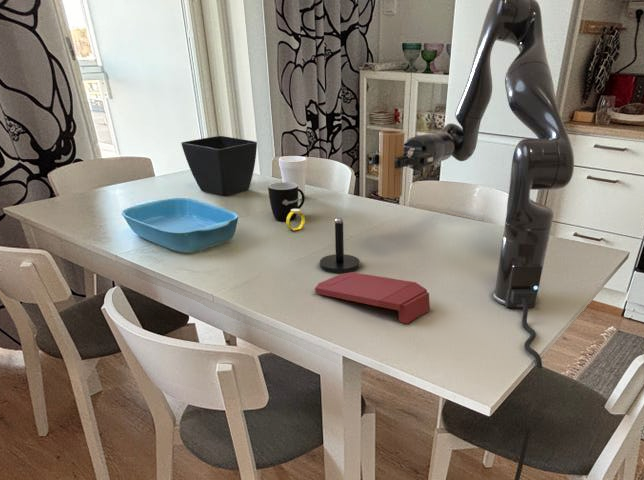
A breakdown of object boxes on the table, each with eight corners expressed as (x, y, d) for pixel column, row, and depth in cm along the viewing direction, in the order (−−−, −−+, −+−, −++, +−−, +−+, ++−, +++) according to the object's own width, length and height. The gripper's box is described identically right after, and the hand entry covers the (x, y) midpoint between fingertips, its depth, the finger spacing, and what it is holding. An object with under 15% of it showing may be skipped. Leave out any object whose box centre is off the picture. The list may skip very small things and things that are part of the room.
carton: (314, 307, 119) (401, 327, 103) (310, 286, 116) (399, 304, 101) (349, 290, 126) (435, 306, 111) (347, 271, 124) (434, 284, 109)
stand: (360, 273, 127) (360, 224, 120) (319, 273, 126) (317, 224, 120) (359, 258, 135) (359, 211, 129) (320, 258, 135) (318, 211, 128)
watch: (290, 233, 151) (289, 213, 148) (285, 231, 153) (283, 210, 150) (307, 228, 155) (306, 209, 152) (301, 226, 156) (300, 206, 153)
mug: (281, 224, 158) (278, 190, 152) (265, 217, 163) (262, 185, 158) (313, 217, 164) (311, 184, 159) (296, 211, 170) (295, 179, 165)
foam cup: (278, 195, 186) (275, 157, 179) (303, 192, 189) (301, 155, 182) (286, 202, 179) (283, 162, 172) (311, 199, 182) (310, 160, 175)
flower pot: (262, 188, 193) (258, 140, 184) (225, 200, 179) (219, 148, 170) (226, 181, 201) (219, 135, 192) (188, 192, 188) (179, 142, 179)
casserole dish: (113, 232, 150) (107, 207, 146) (181, 215, 164) (177, 192, 161) (185, 264, 130) (180, 237, 126) (256, 242, 144) (253, 216, 140)
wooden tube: (402, 198, 123) (405, 134, 115) (379, 198, 123) (380, 134, 115) (400, 191, 127) (403, 130, 120) (377, 191, 127) (379, 130, 120)
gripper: (401, 131, 132) (360, 140, 121) (450, 138, 125) (411, 148, 113) (400, 162, 136) (360, 174, 125) (447, 170, 129) (409, 183, 117)
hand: (384, 161), depth 119 cm, fingers closed on wooden tube, 5 cm apart
